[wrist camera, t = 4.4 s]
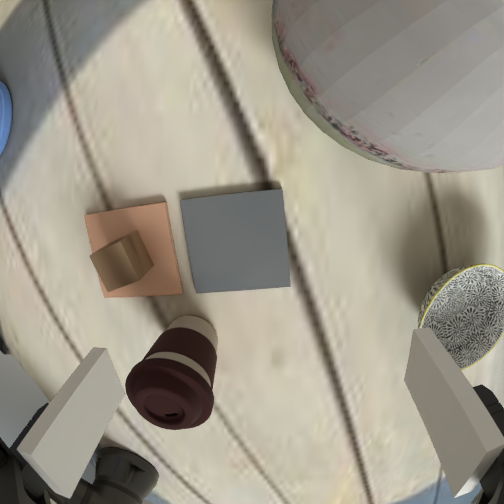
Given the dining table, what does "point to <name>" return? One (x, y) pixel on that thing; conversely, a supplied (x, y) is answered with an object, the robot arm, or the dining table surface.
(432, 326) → the bowl
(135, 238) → the walnut block
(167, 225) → the terracotta tile
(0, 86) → the water jug
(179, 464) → the dining table surface
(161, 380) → the coffee cup
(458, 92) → the vase
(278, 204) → the slate tile
